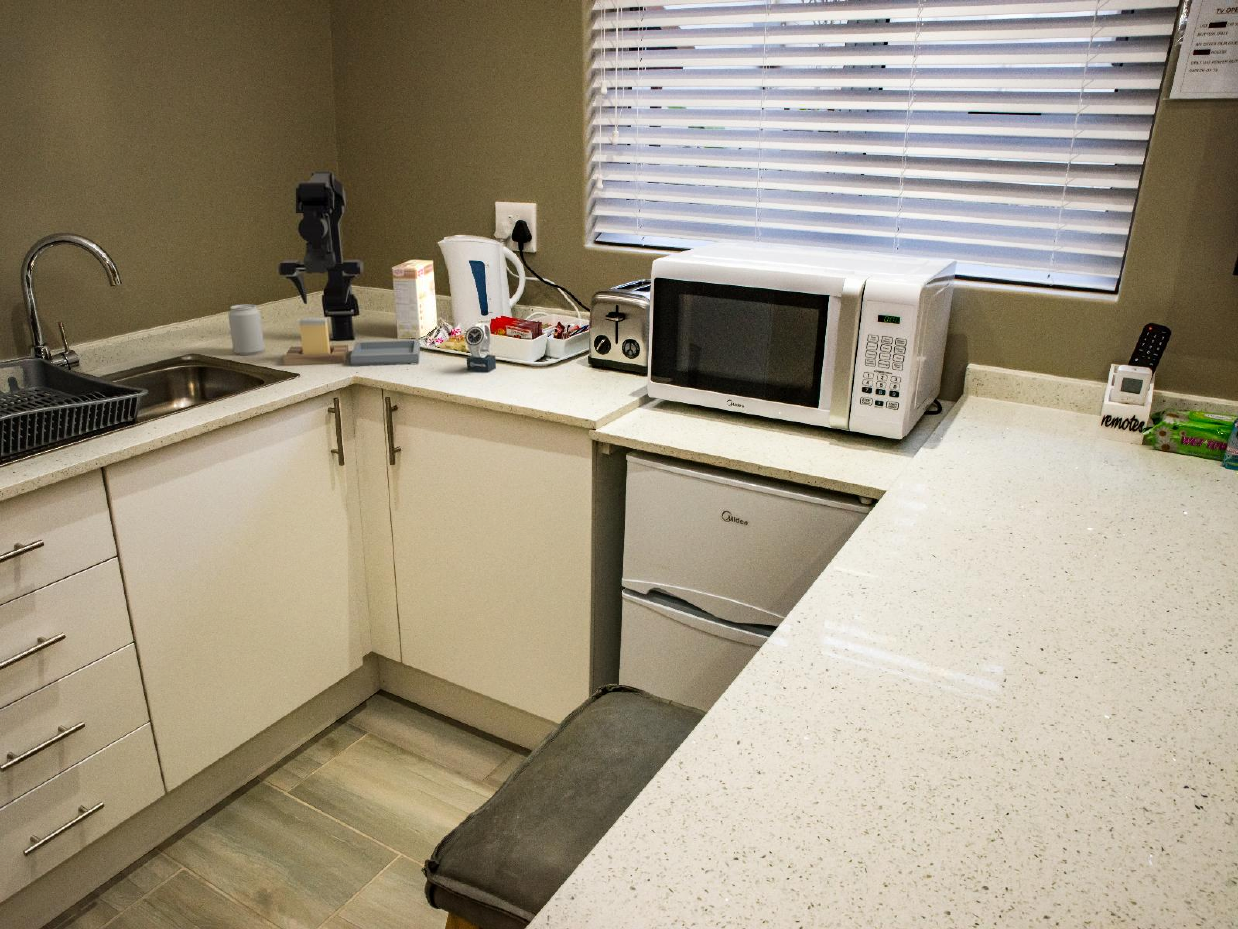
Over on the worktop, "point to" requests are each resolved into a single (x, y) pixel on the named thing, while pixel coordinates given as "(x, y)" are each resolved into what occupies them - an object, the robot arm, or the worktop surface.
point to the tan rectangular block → (314, 335)
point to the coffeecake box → (414, 298)
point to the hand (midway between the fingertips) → (325, 303)
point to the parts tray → (385, 352)
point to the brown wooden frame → (316, 356)
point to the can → (246, 329)
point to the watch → (479, 340)
